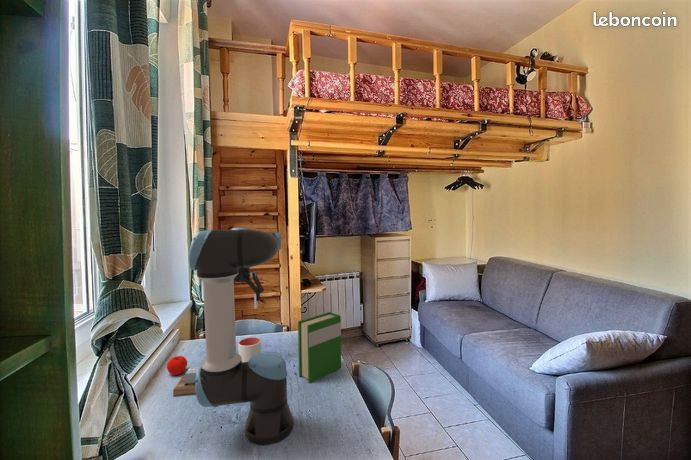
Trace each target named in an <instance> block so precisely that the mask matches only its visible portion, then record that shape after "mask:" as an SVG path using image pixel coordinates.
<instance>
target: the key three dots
mask: <svg viewBox="0 0 691 460" xmlns="http://www.w3.org/2000/svg"><path fill="white" fill-rule="evenodd" d="M199 367H200V366H194V367H193V366H192V367H189V368H188V369H187V371H185V381H186V384H187V383H196V381H195V377H196V372H197V370H198V368H199Z"/></svg>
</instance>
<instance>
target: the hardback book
mask: <svg viewBox="0 0 691 460" xmlns="http://www.w3.org/2000/svg"><path fill="white" fill-rule="evenodd" d="M341 318H342V317H341V315H340V314H337V313H333V312H331V311H329V312H325V313H322V314H318V315H315V316H311V317H308V318H305V319H301V320H298V321H297V332H298V333H297V335H298V336H297V337H298V340H297V341H298V376H299V378H302V377H303V378H305V379H307V382H308V384H312V383H313V382H315V381H317V380H319V379H322V378H324V377H326V376H328V375H330V374H333V373H334V371H335V372H336V370H337V371H338V369H339V370H340V368H341V369H342V328H341V327H342V323H341V322H342V319H341Z"/></svg>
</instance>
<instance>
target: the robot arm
mask: <svg viewBox="0 0 691 460" xmlns="http://www.w3.org/2000/svg"><path fill="white" fill-rule="evenodd" d="M281 249H282V233H280V232H274V231H273V232H268V231H263V230H257V229H249V228H247V227H233V228H231V229H208V230H207V229H206V230H199V231H198V232H196V233H195V234H194V235H193V237H192V240H191V242H190V246H189V251H188V252H189V255H188V264H189V268H190V269H191V270H192V271H196V276H197V278H198V279H199V280H200V281H202V287H203V288H202V289H203V309H204V312H203V313H204V327H205V328H204V329H205V331H204V332H205V350H206V351H205V352H206V353H205V355H206V357H205V358H204V359H203V360H202V362H201V366H198V367H199V368H198V370H197V372H196V377H195V381H196V384H195V391H196V394H195V396H196V400H197V402H198V404H199V405H200V406H201V407H205V408H211V407H212V408H213V407H214V408H217V407H221V406H229V405H235V404H236V405H237V404H243V403H249V411H248V415H247V417H246V420H245V422H244V423H245V424H244V435H245V438H246V440H247V441H249V443H251V444H254V445H256V446H257V445H258V446H268V445H273V444H276V443H279V442H281V441H282V440H284V439H285V438H287V437H288V436H289V435H290V434H291V433H292V431H293V429H294V416H293V413H292V412H291V409H290V406H289V403H288V387H287V386H288V385H287V383H288V382H287V380H288V379H287V377H288V370H287V362H286V360H285V358H284V357H282V356H281V355H278V354H276V353H272V352H261V353H259V354H257V355H253V356H252V357H250V359H249V361H248V362H242V358H241V355H240V354H239V352H237V337H236V334H237V333H236V311H235V310H236V308H235V307H236V306H235V305H236V304H235V283H246V284H247V285H248V286H249V287H250V289H251V290H252V291H253V292H254V294H253V295H254V297H253V298H254V300H253V301H254V306H253V307H254V309H255V310H257V308H258V307H259V301H260V300H261V294H262V293H263V292H264V291H265V289H264V287H263V285H262V283H261V281H260V280H259V277H258V273H257V271H252V272H250V268H251V267H257V266H261V265H263V264H265V263H267V262H269V261H271V260H273V259H274V258H275V257H276V255H277V254H278V251H279V250H281ZM250 277H251V278H252V279H253V281H252V279H251V278H250Z"/></svg>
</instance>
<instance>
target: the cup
mask: <svg viewBox="0 0 691 460" xmlns="http://www.w3.org/2000/svg"><path fill="white" fill-rule="evenodd" d="M261 344H262V341H261V338H259V337H246V338H243V339H241V340H239V341H238V347H237V348H238V350H237V351H238V354H240V355H241V358H242V362H248V361H249V359H250V357H252V356H253V355H257V354H259V353H262V345H261Z"/></svg>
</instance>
